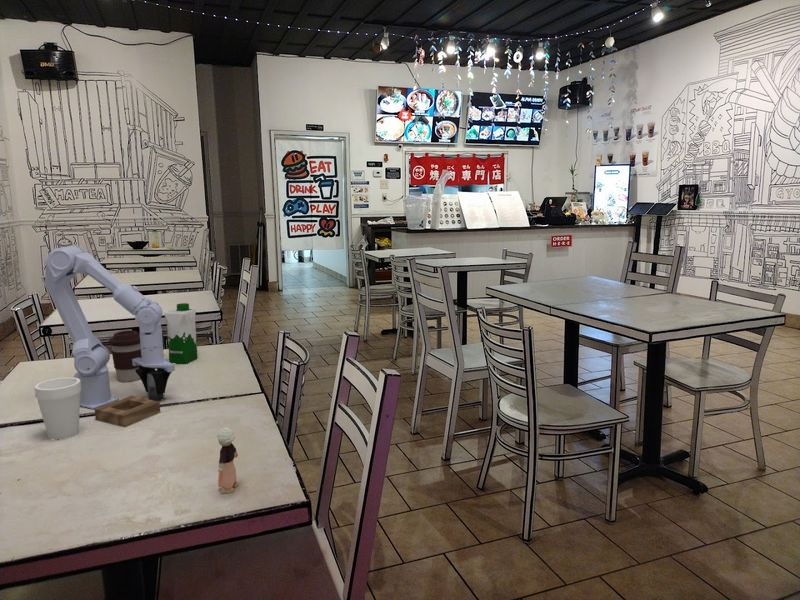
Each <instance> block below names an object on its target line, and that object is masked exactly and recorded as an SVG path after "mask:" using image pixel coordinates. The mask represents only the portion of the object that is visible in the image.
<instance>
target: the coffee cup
mask: <svg viewBox="0 0 800 600" xmlns="http://www.w3.org/2000/svg"><path fill="white" fill-rule="evenodd" d="M108 344H109V346H111V357H112V361H113V368H114V369H115V373H116V380H117V381H118V382H121V383H128V382H129V383H131V382H135V381H138V380H141V379H140V377H139V376H138V374H137V373H136V371H135V370H136V369H139V367H140V366H138V365H137V366H133V362H132V359H135V358H142V356H141V344H140V332H138V331H137V330H123V331H117V332H115V333H114V334H113V336H111V337H110V338H108Z"/></svg>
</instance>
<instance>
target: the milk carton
mask: <svg viewBox="0 0 800 600" xmlns="http://www.w3.org/2000/svg"><path fill="white" fill-rule="evenodd" d="M196 313H197V311H196V309H193V308H190V304H189V303H186V302H184V303H183V302H182V303H177V304H176V308H175V309H172V310H168V311H167V312H163V314H164V319H165V321H166V328H167V329H166V330H167V340H168V341H167V342H168V343H167V344H168V362H170V363H176V364H177V365H178V364H179V365H188V363H189V364H190V362H191V363H192V362H194V361H196V360H197V358H199V357H198V345H197V344H198V343H197V329H196V328H197V327H196Z"/></svg>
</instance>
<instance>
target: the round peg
mask: <svg viewBox="0 0 800 600" xmlns="http://www.w3.org/2000/svg"><path fill="white" fill-rule="evenodd" d="M156 370H157V369H155V370H154V371H156ZM151 372H153V371H149V372H147V373H146V377H147V389H148V393H147V399H149V400H153V401H158V402H161V401H162V400H164V394H161V395H158V394H157V391H156V385H155V381H154V378H153V376H152V374H151Z"/></svg>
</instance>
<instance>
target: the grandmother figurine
mask: <svg viewBox="0 0 800 600" xmlns="http://www.w3.org/2000/svg"><path fill="white" fill-rule="evenodd" d="M216 436H217V440H218V444H219V445H220V446H221V448H220V451H219V460H218V468H217V469H218V471H217V472H218V477H217V487H218V488H220V487H221V488H220V490H219V492H220V494H232V493H234V492H235V488H237V487H238V486H239V483H238V482H237V480H238V479H237V471H236V470H237V469H236V466H235V463H234V462H235V461H234V460H235V458H238V456H239V453H238V451H237V448H236V446H235V445H234V444H233V443H232V442H234V441H235V439H236V434H235V433H234V430H233V429H231V428H229V427H222V428H220V429H219V431H218V432H217V434H216Z"/></svg>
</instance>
